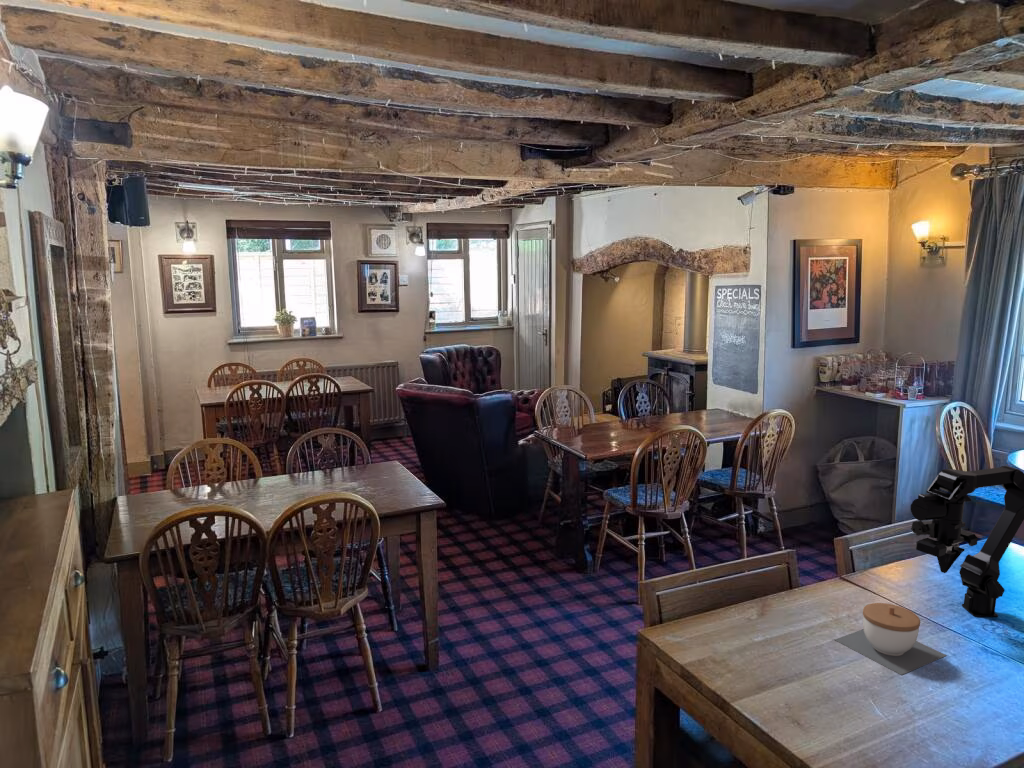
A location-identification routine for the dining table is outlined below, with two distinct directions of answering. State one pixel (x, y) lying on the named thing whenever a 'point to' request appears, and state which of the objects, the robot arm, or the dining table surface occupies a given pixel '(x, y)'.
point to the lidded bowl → (890, 628)
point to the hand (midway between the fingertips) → (943, 572)
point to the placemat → (898, 664)
